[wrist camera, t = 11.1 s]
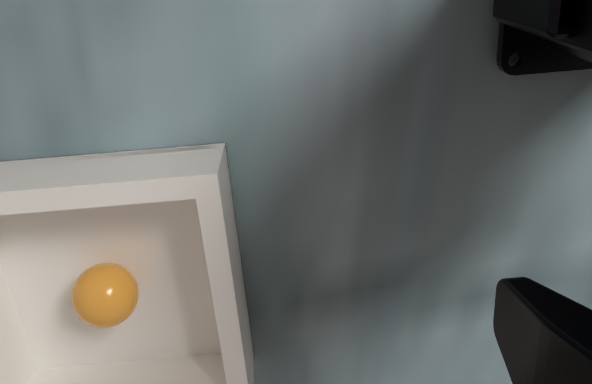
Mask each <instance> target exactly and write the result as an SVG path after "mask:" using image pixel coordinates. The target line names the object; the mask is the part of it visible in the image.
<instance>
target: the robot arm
mask: <svg viewBox="0 0 592 384" xmlns="http://www.w3.org/2000/svg"><path fill="white" fill-rule="evenodd" d="M493 16H494V17H495V18H496V19H497V20H498V21H499V22H500V23H499V36H498V50H497V65H498V67H499V68H500V70H502V71H503V72H505V73H507V74H509V75H524V74H536V73H547V72H559V71H571V70H583V69H592V0H494V5H493ZM515 53H517V54H518V57H519V58H518V61H517V62H516V63H515V64H514V65H512V66H509V63H508V60H509V57H510V56H511V55H512V54H515ZM493 326H494V333H495V337H496V340H497V342H498V345H499V348H500V351H501V353H502V356H503V359H504V361H505V364H506V367H507V370H508V372H509V375H510V378H511V380H512V383H513V384H592V310H591V309H589V308H587V307H585V306H583V305H581V304H579V303H577V302H575V301H573V300H571V299H569V298H567V297H565V296H563V295H561V294H559V293H557V292H555V291H553V290H551V289H549V288H547V287H545V286H543V285H541V284H539V283H537V282H535V281H533V280H531V279H529V278H527V277H516V278H505V279H501V280H500V281H499V282H498V284H497V288H496V297H495V309H494V320H493Z"/></svg>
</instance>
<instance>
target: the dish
mask: <svg viewBox="0 0 592 384" xmlns="http://www.w3.org/2000/svg"><path fill="white" fill-rule="evenodd" d="M253 374H254V351H253V344H252V337H251V329H250V322H249V315H248V307H247V300H246V293H245V286H244V278H243V271H242V264H241V256H240V249H239V242H238V234H237V227H236V220H235V212H234V205H233V198H232V190H231V183H230V176H229V168H228V161H227V154H226V147H225V143H218V144H206V145H195V146H183V147H171V148H159V149H147V150H135V151H123V152H112V153H100V154H88V155H76V156H64V157H52V158H41V159H29V160H17V161H5V162H0V384H253Z"/></svg>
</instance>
